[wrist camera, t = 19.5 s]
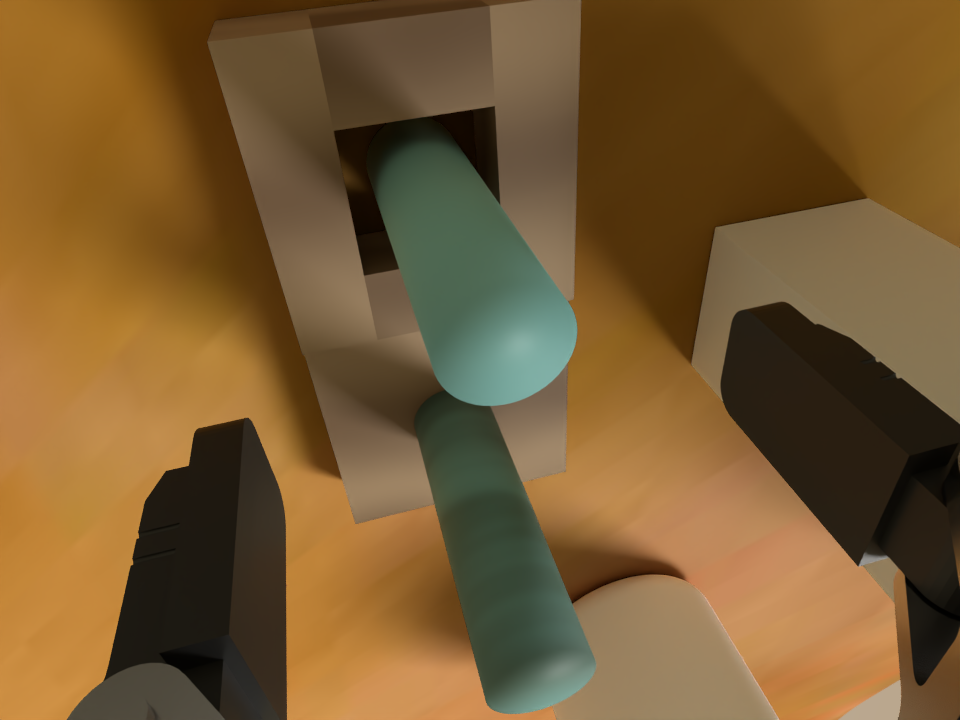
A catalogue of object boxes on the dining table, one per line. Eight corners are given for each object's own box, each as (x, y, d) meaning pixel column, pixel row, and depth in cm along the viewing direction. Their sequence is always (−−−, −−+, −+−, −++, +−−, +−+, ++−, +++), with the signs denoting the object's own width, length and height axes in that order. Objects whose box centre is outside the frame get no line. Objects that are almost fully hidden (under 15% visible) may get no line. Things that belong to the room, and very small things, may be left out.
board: (547, 435, 26) (683, 709, 17) (350, 483, 25) (392, 803, 16) (547, 261, 21) (735, 526, 12) (299, 309, 20) (322, 640, 11)
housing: (823, 334, 27) (1083, 552, 18) (691, 364, 26) (899, 608, 17) (868, 198, 23) (1221, 390, 14) (715, 227, 22) (997, 452, 13)
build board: (547, 261, 21) (573, 299, 19) (299, 309, 20) (302, 355, 18) (545, -20, 16) (581, -7, 14) (214, 20, 15) (206, 42, 13)
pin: (458, 203, 19) (569, 394, 12) (370, 211, 18) (433, 415, 11) (458, 112, 17) (585, 271, 10) (362, 118, 17) (428, 291, 10)
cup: (638, 667, 41) (723, 851, 33) (502, 669, 37) (564, 882, 29) (729, 567, 36) (853, 754, 29) (586, 557, 32) (686, 775, 24)
